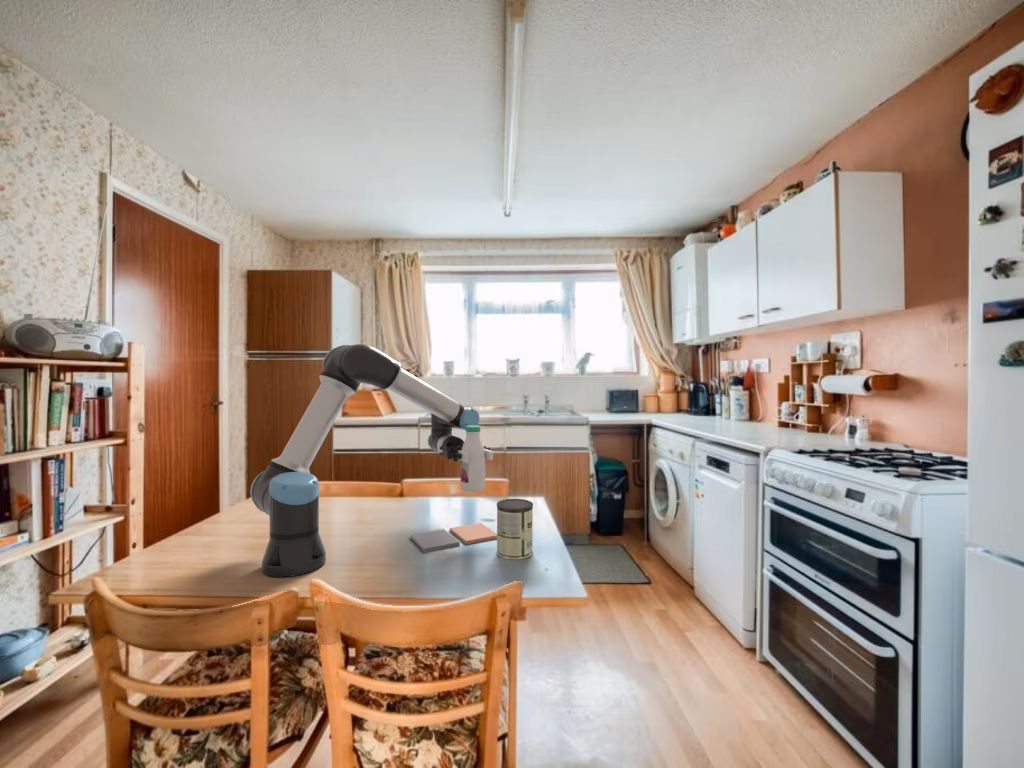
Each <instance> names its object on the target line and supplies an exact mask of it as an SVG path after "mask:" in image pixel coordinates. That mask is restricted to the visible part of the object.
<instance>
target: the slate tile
mask: <svg viewBox="0 0 1024 768" xmlns="http://www.w3.org/2000/svg"><path fill="white" fill-rule="evenodd" d="M409 539H410V540H411V539H412V540H413V541H414V542H415V543H416V544H417V545H416V544H415V543H414V544H415V545H416V547H418V548H419V550H421V551H422V552H423V553H427V552H432V551H438V550H443V549H448V548H453V547H459V546H460V544H461V543H460V541H459V540H458V539H456V538H455V537H454V536H453V535H452V534H451V533H450V532H448V531H447V530H446V529H444V528H442V529H436V530H431V531H424V532H418V533H413V534H409ZM412 540H411V541H412ZM413 541H412V542H413Z"/></svg>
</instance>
